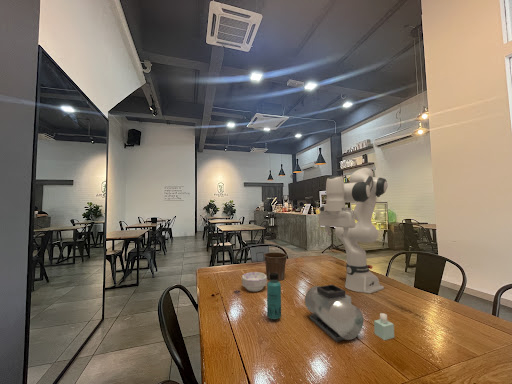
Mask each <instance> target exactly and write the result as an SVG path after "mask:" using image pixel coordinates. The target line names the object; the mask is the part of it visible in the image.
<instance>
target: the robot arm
mask: <svg viewBox="0 0 512 384" xmlns="http://www.w3.org/2000/svg"><path fill="white" fill-rule="evenodd" d="M348 181H349V182H347V183H346V182H345V181H344V176H342V175H333V176H329V177H327V179H326V185H325V195H326V202H325V203H326V204H324V205H322V206H320V207H319V208H318V211H319V214H318V224H319V225H320V226H322V227H324V229H325V231H326V235H327V236H332V234H333V233H332V231H331V230H330V228H331V227H333V228H335V230H334V232H335V235H336V237H337V238H338V239H339V240H340V241H341V243H342V244H343V246H344V249H345V255H346V263H345V266H346V267H345V269H346V277H345V278H346V279H345V283H344V287H345V288H346V289H347V290H349V291H353V292H356V293H365V294H372V293H375V292H379V291H382V290H384V289H385V287H384V286H383V285H382V284H380V280H379V277H378V276H376V275H375V274H374V273H373V272H372V271H370V269H371V270H372V269H373V265H371V264H367V261H368V260H367V252H366V251H365V249H364V248H363V247H361V246H360V245H359V243H364V244H365V243H375V242H376V241H377V239H378V237H379V231H378V229H377V227H376V225H374V224H373V223H372V217H373V214H374V212H375V208H376V202H377V198H379V197H381V196H383V194H385V193H386V192H387V189H388V186H389V185H388V181H387V179H386V178H384V177H376V176H375V175H374V171H373V170H372V169H371V168H370V167H362V168H359V169H357V170H355V171H353V172H352V173H351V175H350V176H349V179H348ZM347 202H350V203H351V202H352V203H353V202H356V204H355V207H354V209H353V208H351V207H346V203H347ZM356 221H357V222H356Z"/></svg>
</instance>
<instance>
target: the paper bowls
mask: <svg viewBox="0 0 512 384" xmlns="http://www.w3.org/2000/svg"><path fill="white" fill-rule="evenodd" d="M267 283H268V279H267V274H265V273H264V272H260V271H251V272H246V273H244V274H242V275H241V285H242V287H244V288H245V289H246V290H247V291H248V292H259V291H262V290H263V289H264V287H267Z"/></svg>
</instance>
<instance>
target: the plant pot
mask: <svg viewBox="0 0 512 384" xmlns="http://www.w3.org/2000/svg"><path fill="white" fill-rule="evenodd" d="M263 256H264V262H265V270H266V271H265V273H266V274H265V275H266V276H267V280H269V281H270V280H271V279H269V277H270V273H277V274H278V277H279V279H277V281H279V282H280V281H283V280H284V279H285V275H286V274H285V271H286V262H287V257H288V254H287V253H284V252H277V251H274V252H273V251H272V252H266V253H263Z"/></svg>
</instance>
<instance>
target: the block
mask: <svg viewBox="0 0 512 384" xmlns="http://www.w3.org/2000/svg"><path fill="white" fill-rule="evenodd" d="M373 326H374V327H373V328H374V329H373V330H374V335H375V336H377V337H379V338H380V339H381V340H383V341H387V340H391V339H394V338H395V325H394V323H392V322H391V321H389V320H388V315H387V313H384V312H380V313H379V319H377V320H376V319H375V320H373Z"/></svg>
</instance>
